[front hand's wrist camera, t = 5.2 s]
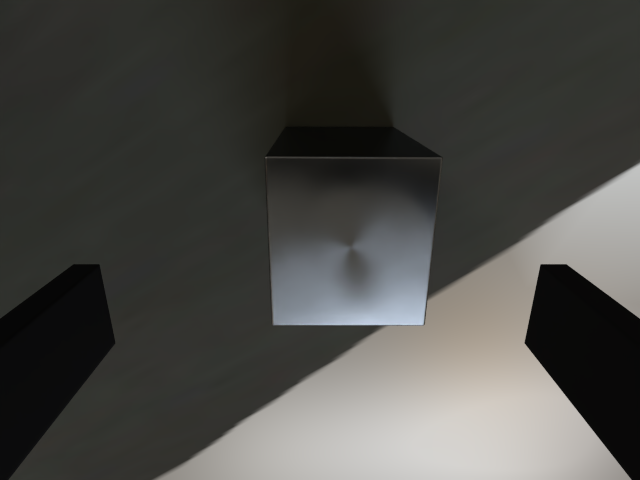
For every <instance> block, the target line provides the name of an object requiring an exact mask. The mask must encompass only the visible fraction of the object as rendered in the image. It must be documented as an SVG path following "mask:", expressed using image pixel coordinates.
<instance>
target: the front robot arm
mask: <svg viewBox="0 0 640 480" xmlns="http://www.w3.org/2000/svg"><path fill="white" fill-rule="evenodd" d="M114 344H115V339H114V334H113V329H112V324H111V319H110V314H109V309H108V304H107V300H106V295H105V290H104V285H103V280H102V275H101V270H100V265H99V264H73V265H72V266H71V267H69V268H68V269H67V270H65V271H64V272H63V273H61V274H60V275H59V276H57V277H56V278H55V279H53V280H52V281H51V282H49V283H48V284H46V285H45V286H44V287H42V288H41V289H40V290H38V291H37V292H36V293H34V294H33V295H32V296H30V297H29V298H28V299H26V300H25V301H24V302H22V303H21V304H19V305H18V306H17V307H15V308H14V309H13V310H11V311H10V312H9V313H7V314H6V315H5V316H3V317H2V318H1V319H0V480H8V479H9V478H10V477H11V476H12V474H13V473H14V472H15V470H16V469H17V468H18V467H19V465H20V464H21V463H22V462H23V460H24V459H25V458H26V456H27V455H28V454H29V453H30V451H31V450H32V449H33V448H34V446H35V445H36V444H37V442H38V441H39V440H40V439H41V437H42V436H43V435H44V433H45V432H46V431H47V430H48V428H49V427H50V426H51V425H52V423H53V422H54V421H55V419H56V418H57V417H58V416H59V414H60V413H61V412H62V411H63V409H64V408H65V407H66V405H67V404H68V403H69V402H70V400H71V399H72V398H73V396H74V395H75V394H76V393H77V391H78V390H79V389H80V388H81V386H82V385H83V384H84V382H85V381H86V380H87V379H88V377H89V376H90V375H91V374H92V372H93V371H94V370H95V368H96V367H97V366H98V365H99V363H100V362H101V361H102V359H103V358H104V357H105V356H106V354H107V353H108V352H109V351H110V349H111V348H112V347H113V345H114ZM525 344H526V345H527V347H528V348H529V349H530V351H531V352H532V353H533V354H534V356H535V357H536V358H537V359H538V361H539V362H540V363H541V364H542V366H543V367H544V368H545V370H546V371H547V372H548V374H549V375H550V376H551V377H552V379H553V380H554V381H555V382H556V384H557V385H558V386H559V388H560V389H561V390H562V391H563V393H564V394H565V395H566V396H567V398H568V399H569V400H570V402H571V403H572V404H573V405H574V407H575V408H576V409H577V410H578V412H579V413H580V414H581V416H582V417H583V418H584V419H585V421H586V422H587V423H588V425H589V426H590V427H591V428H592V430H593V431H594V432H595V433H596V435H597V436H598V437H599V439H600V440H601V441H602V442H603V444H604V445H605V446H606V448H607V449H608V450H609V451H610V453H611V454H612V455H613V456H614V458H615V459H616V460H617V462H618V463H619V464H620V465H621V467H622V468H623V469H624V470H625V472H626V473H627V474H628V476H629V477H630V478H631V479H632V480H640V319H639V318H638V317H637V316H635V315H634V314H633V313H631V312H630V311H629V310H627V309H626V308H625V307H623V306H622V305H620V304H619V303H618V302H616V301H615V300H614V299H612V298H611V297H610V296H608V295H607V294H606V293H604V292H603V291H602V290H600V289H599V288H598V287H596V286H595V285H593V284H592V283H591V282H589V281H588V280H587V279H585V278H584V277H583V276H581V275H580V274H579V273H577V272H576V271H575V270H573V269H572V268H571V267H569V266H568V265H566V264H541V265H540V270H539V275H538V280H537V285H536V290H535V295H534V300H533V305H532V309H531V314H530V319H529V324H528V329H527V334H526V339H525Z"/></svg>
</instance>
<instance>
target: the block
mask: <svg viewBox="0 0 640 480" xmlns="http://www.w3.org/2000/svg"><path fill="white" fill-rule="evenodd" d="M442 161H443V158H442V157H441V156H440V155H438V154H436V153H435V152H433V151H432V150H430V149H428V148H427V147H425V146H423V145H422V144H420V143H419V142H417V141H415V140H414V139H412V138H410V137H409V136H407V135H406V134H404V133H402V132H401V131H399V130H398V129H396V128H394V127H285V128H284V130H283V131H282V133H281V134H280V136H279V137H278V138H277V140H276V141H275V143H274V144H273V146H272V147H271V149H270V150H269V152H268V153H267V155H266V156H265V177H266V201H267V224H268V248H269V271H270V295H271V318H272V325H424V324H425V316H426V307H427V298H428V289H429V280H430V271H431V262H432V252H433V243H434V234H435V225H436V216H437V207H438V198H439V188H440V179H441V170H442Z"/></svg>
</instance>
